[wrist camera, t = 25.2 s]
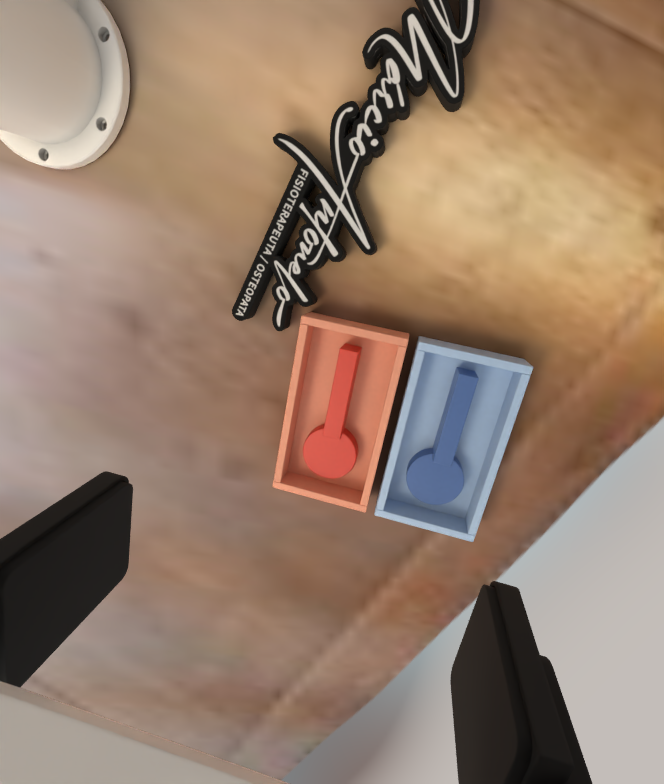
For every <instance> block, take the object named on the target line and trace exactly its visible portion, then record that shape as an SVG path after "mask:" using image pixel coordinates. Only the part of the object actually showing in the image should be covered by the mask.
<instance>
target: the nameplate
mask: <svg viewBox="0 0 664 784" xmlns="http://www.w3.org/2000/svg"><path fill="white" fill-rule="evenodd" d="M415 2H416V4H417V6H418V8H419V11H420V12H419V11H418V10H417V8H415V7H412V8H409V9H407V10H406V11H405V12H404V13H403V15H402V32H403V37H402V36H401V35H400V34H399V33H398V32H396V31H395V30H393V29H390V28H382V29H380V30H378V31H377V32H375V33H374V34H373V35H372V36H371V37H370V38H369V39H368V40H367V42H366V44H365V46H364V48H363V51H362V53H363V58H364V61H365V65H366V67H367V68H368V69H373V68H374V67H375V66H376V64H377V62H378V61H379V59H380V58H381V57H382V58H381V63H380V66H381V68H380V69H381V73H380V74H379V75H378V76H377V78H376V83H375V84H372V85H371V86H370V87H369V89H368V96H367V98H368V100H367V101H366V102H365V103H364V104H363V106H362V108H361V111H360V110H359V107H358V105H357V103H356V102H354V101H350V102H347V103H345V104H343V105H342V106H340V107H339V108H338V110H337V111H336V112H335V114H334V116H333V119H332V123H331V130H330V150H331V157H332V163H333V168H334V172H335V176H336V180H337V183H338V185H337V184H336V183H335V181H334V180H333V179H332V177H331V176H330V175H329V173H328V172H327V171H326V170H325V168H324V167H323V166H322V165H321V164H320V163H319V161H318V160H317V159H316V158H315V157H314V156H313V155H312V154H311V153H310V152H309V151H308V150H307V149H306V148H305V147H304V146H303V145H302V144H300V143H299V142H298V141H297V140H295V139H293V138H292V137H290V136H288V135H285V134H282V133H278V134H276V136H274V137H273V141H274V143H275V144H276V145H277V146H278V147H279V148H280V149H282V150H283V151H285V152H287V153H288V154H289V155H291V156H292V157H293V158H294V159H295V160H296V161H297V162H298V164H297V166H296V168H295V170H294V172H293V175H292V177H291V179H290V181H289V184H288V186H287V188H286V190H285V193H284V195H283V197H282V199H281V202H280V204H279V206H278V208H277V211H276V213H275V215H274V217H273V219H272V222H271V224H270V226H269V228H268V231H267V233H266V235H265V237H264V240H263V242H262V244H261V246H260V249H259V251H258V253H257V255H256V258H255V260H254V262H253V264H252V267H251V269H250V271H249V273H248V275H247V278H246V280H245V282H244V284H243V287H242V289H241V291H240V293H239V296H238V298H237V300H236V302H235V304H234V306H233V309H232V314H233V316H234V317H235V318H236V319H237V320H239V321H242V320H246V319H249V318H252V317H253V316H254V314H255V313H256V310H257V308H258V306H259V303H260V301H261V299H262V297H263V295H264V293H265V291H266V288H267V286H268V284H269V282H270V280H271V278H272V276H273V273H274V275H275V278H276V280H277V283H275V284H274V285H273V287H272V294H273V297H274V299H275V300H276V301H277V304H276V306H275V308H274V312H273V317H272V321H273V325H274V327H275V329H276V330H277V331H282V330H284V329H286V328H288V327H289V325H290V319H291V313H292V309H293V304H295V303H297V302H298V303H299V304H300V305H301V306H304V307H307V306H310V305H313V304H315V303H316V301H317V297H316V295H315V294H314V292H313V291H312V290H311V288H310V287H309V285H308V284H307V283H306V281H305V280H304V278H306V277H308V275H309V273H310V270H317V269H320V268H321V267H323V266H324V264H325V263H326V261H327V260H328V258H329V259H330V260H331V261H333V262H340V261H342V260H343V259H344V258H345V257H346V251H345V249H344V248H343V246H342V245H341V243H340V242H339V241H338V236H339V234H340V231H341V229H342V226H343V224H344V225H345V227H346V228H347V230H348V231H349V233H350V234H351V236H352V237H353V239H354V240H355V241H356V243H357V244H358V246H359V247H360V248H361V249H362V251H363V252H364V253H365V254H368V255H372V254H374V253H375V252H376V251H377V246H376V243H375V242H374V239H373V236H372V234H371V232H370V229H369V227H368V224H367V222H366V220H365V217H364V215H363V212H362V209H361V207H360V204H359V201H358V199H357V196H356V193H355V191H356V188H357V186H358V183H359V181H360V178H361V175H362V172H363V170H364V167H365V166H367V165H369V164H370V163H371V162H372V159H373V157H375V158H378V157H379V156H381V155H382V154H383V153H384V151H385V144H384V140H383V138H382V136H381V135H384V134H386V133H387V131H388V128H389V124H388V123H389V122H393V121H396V120H397V119H400V120H406V119H407V118H408V117H409V115H410V103H409V97H408V93H407V89H406V85H407V87H408V88H409V90H410V91H411V93H412V94H413V95H414V96H416V97H418V96H421V95H423V94H424V93H425V92H426V90H427V82H428V81H429V83H430V85H431V86H432V88H433V90H434V92H435V94H436V96H437V97H438V99H439V101H440V102H441V104H442V105H443V107H444V108H445V109H446V110H447V111H449V112H454V111H457V110H458V109H459V108H460V106H461V103H462V100H463V96H464V67H463V58H464V57H466V55H467V54H468V53H469V52H470V50H471V47H472V45H473V41H474V37H475V33H476V29H477V24H478V17H479V4H480V0H459V29H457V27H456V24H455V20H454V17H453V14H452V11H451V8H450V5H449V2H448V0H415ZM433 38H434V39H433ZM434 40H435V41H434ZM435 42H436V43H435ZM436 44H437V45H438V47H439V48H440V50H441V51H442V53H443V54H444V56H445V60H446V64H445V62H444V60H443V58H442V56H441V53H440V51H439V49H438V47H437V45H436ZM351 125H353V127H352V133H349V134H348V132H349V129H350V127H351ZM315 184H316V185H317V186H318V188H319V189H320V190H321V192H322V193H321V194H318V195H317V196H316V198H315V201H316V204H317V206H315V207H314V206H313V205H312V202H311V201H309V200H308V198H309V196H310V194H311V192H312V190H313V188H314V186H315ZM300 216H302V218H303V219H304V220H305V221H306V222H307V223H306V224H304V225H303V226H302V227H301V228H300V230H299V238H298V239H297V240H296V242H295V245H296V249H295V250H294V251H293V252H292V253H291V255H290V258H288V259H287V258H286V257H284V256H282V254H283V252H284V250H285V248H286V246H287V243H288V241H289V239H290V237H291V235H292V233H293V231H294V228H295V226H296V224H297V222H298V220H299V218H300Z"/></svg>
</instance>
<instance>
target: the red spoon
mask: <svg viewBox="0 0 664 784" xmlns="http://www.w3.org/2000/svg"><path fill="white" fill-rule="evenodd" d="M361 350H362V347H359V346H355V345H350V344H346V343H345V344H344V345H343V346H342V347H341V348H340V349H339V354H338V360H337V365H336V370H335V375H334V380H333V385H332V390H331V395H330V400H329V405H328V410H327V415H326V420H325V424H322V425H320V426H318V427H316V428H314V429H313V430H312V431H311V432H310V434H309V435H308V437H307V438H306V440H305V442H304V445H303V457H304V460H305V463H306V464H307V466H308V467H309V469H310V470H311V471H313V472H314V473H315V474H317V475H319V476H321V477H324V478H329V479H335V478H339V477H342V476H344V475H346V474H348V473H349V472H350V471H351V470H352V468H353V467H354V465H355V462H356V459H357V456H358V445H357V441H356V439H355V437H354V436H353V434H352V433H351V432H350V431H349V430H347V429H346V428H345V425H346V420H347V415H348V411H349V406H350V401H351V397H352V392H353V387H354V383H355V378H356V373H357V369H358V364H359V359H360V355H361Z"/></svg>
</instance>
